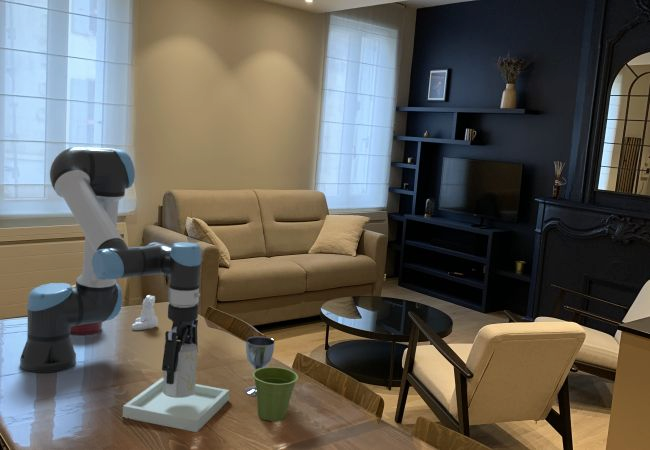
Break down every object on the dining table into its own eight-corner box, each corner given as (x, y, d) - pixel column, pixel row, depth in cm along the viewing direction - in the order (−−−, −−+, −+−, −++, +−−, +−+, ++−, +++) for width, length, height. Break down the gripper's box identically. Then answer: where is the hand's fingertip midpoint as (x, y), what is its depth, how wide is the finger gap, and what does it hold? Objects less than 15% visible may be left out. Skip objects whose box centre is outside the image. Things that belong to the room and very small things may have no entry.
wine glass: (275, 389, 181) (279, 339, 179) (263, 399, 173) (267, 347, 171) (250, 383, 183) (253, 334, 181) (238, 393, 176) (241, 342, 174)
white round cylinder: (187, 399, 158) (189, 354, 156) (157, 394, 159) (159, 349, 158) (199, 387, 166) (202, 344, 164) (171, 383, 167) (173, 340, 166)
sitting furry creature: (136, 322, 231) (137, 290, 229) (159, 323, 232) (161, 292, 230) (130, 330, 221) (132, 297, 220) (155, 331, 222) (157, 298, 221)
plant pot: (277, 431, 156) (280, 388, 154) (240, 416, 162) (243, 375, 160) (303, 415, 166) (307, 374, 164) (268, 402, 172) (271, 363, 170)
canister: (93, 337, 211) (95, 286, 209) (55, 333, 211) (57, 283, 209) (107, 325, 224) (109, 277, 222) (71, 322, 224) (73, 274, 222)
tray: (122, 417, 156) (123, 405, 155) (161, 387, 175) (162, 377, 175) (196, 432, 151) (197, 420, 151) (228, 400, 171) (229, 390, 170)
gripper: (178, 316, 148) (173, 406, 152) (213, 296, 169) (209, 376, 172) (149, 311, 150) (145, 401, 153) (188, 292, 170) (184, 372, 173)
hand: (179, 388), depth 162 cm, fingers closed on white round cylinder, 8 cm apart
